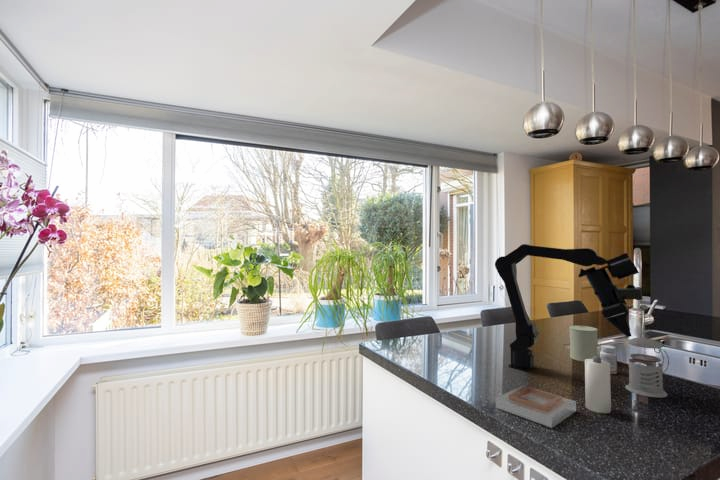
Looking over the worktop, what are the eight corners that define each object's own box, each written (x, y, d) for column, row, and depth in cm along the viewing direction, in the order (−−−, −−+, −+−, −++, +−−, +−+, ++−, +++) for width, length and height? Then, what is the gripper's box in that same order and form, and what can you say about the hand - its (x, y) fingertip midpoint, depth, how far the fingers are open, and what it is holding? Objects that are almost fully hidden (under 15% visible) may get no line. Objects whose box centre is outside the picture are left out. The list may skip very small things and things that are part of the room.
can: (594, 356, 140) (593, 325, 140) (601, 363, 131) (601, 330, 131) (567, 354, 143) (566, 323, 143) (572, 360, 134) (572, 328, 134)
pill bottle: (620, 374, 119) (619, 348, 120) (604, 373, 120) (603, 348, 120) (613, 369, 124) (612, 345, 124) (597, 369, 125) (597, 344, 125)
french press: (616, 384, 110) (615, 302, 111) (652, 383, 111) (650, 302, 112) (644, 398, 100) (642, 307, 101) (683, 396, 101) (681, 307, 102)
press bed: (496, 407, 94) (495, 394, 95) (522, 394, 103) (522, 381, 103) (551, 428, 84) (551, 412, 84) (576, 411, 92) (575, 397, 93)
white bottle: (582, 407, 94) (581, 356, 95) (590, 402, 98) (589, 353, 98) (606, 415, 90) (605, 361, 90) (614, 409, 93) (612, 357, 94)
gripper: (632, 277, 102) (663, 331, 98) (630, 273, 117) (657, 320, 113) (590, 291, 108) (617, 342, 104) (593, 286, 123) (617, 330, 119)
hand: (629, 333), depth 110 cm, fingers open, 9 cm apart
